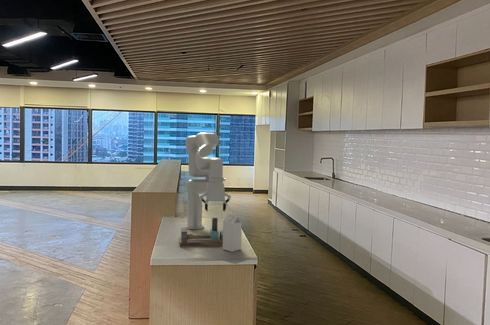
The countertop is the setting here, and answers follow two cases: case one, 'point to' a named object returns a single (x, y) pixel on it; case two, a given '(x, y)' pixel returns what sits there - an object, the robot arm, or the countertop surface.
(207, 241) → the base
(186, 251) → the countertop surface
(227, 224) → the milk carton
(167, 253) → the countertop surface
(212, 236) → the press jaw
